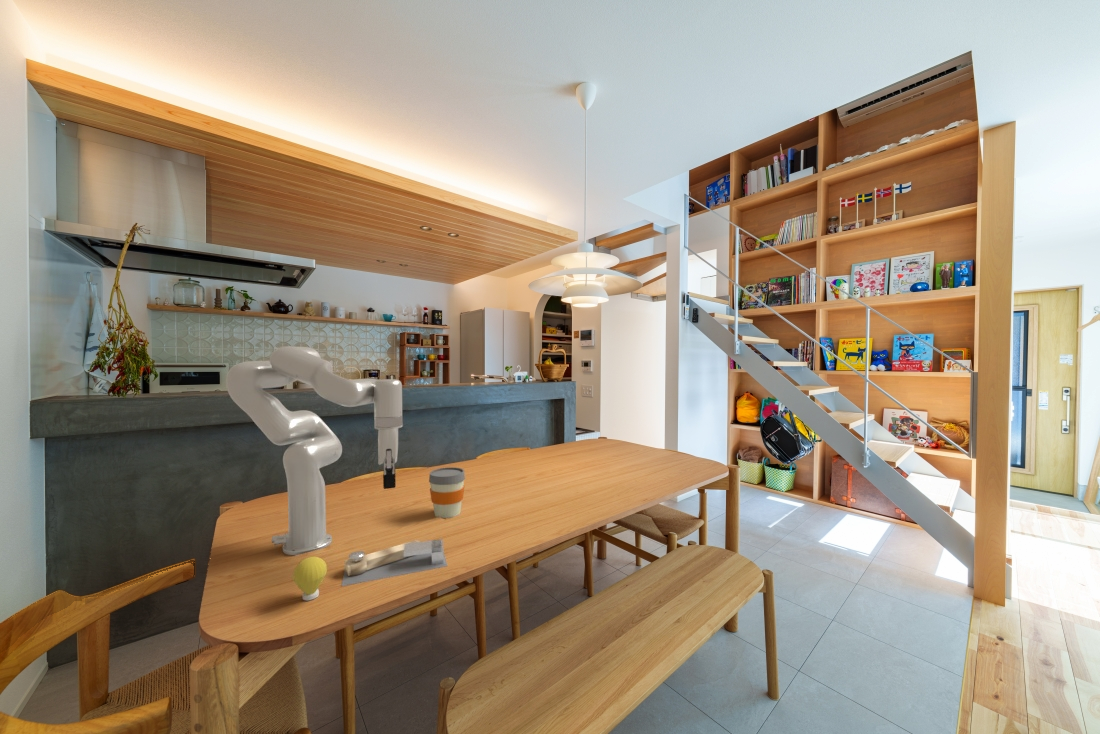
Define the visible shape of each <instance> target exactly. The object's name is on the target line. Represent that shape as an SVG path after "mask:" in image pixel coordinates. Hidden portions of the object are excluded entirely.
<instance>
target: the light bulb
mask: <svg viewBox="0 0 1100 734" xmlns="http://www.w3.org/2000/svg"><path fill="white" fill-rule="evenodd" d="M327 572H328V566H327V563H326V561H325V560H323V559H322V558H321V557H318V556H309V557H307V558H304V559H303V560H301V561H300V562H299V563H298V564H297V565H296V567H295V568H294V570H293V576H292V580H293V582H294V583H295V585H296V586H297V587H298V588H299V590H301V591H302V592H303V593H302V600H303V601H312V600H315V599H316V598H317V597H319V595H320V590H319V588H320V585H321V584H322V582H323V581H324V578H325V577H326V574H327Z"/></svg>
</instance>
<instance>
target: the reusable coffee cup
mask: <svg viewBox="0 0 1100 734" xmlns="http://www.w3.org/2000/svg"><path fill="white" fill-rule="evenodd" d="M428 477H429V479H428V482H429V483H430V487H429V493H430V499H431V503H432V505H433V511H434V516H435V517H436V518H441V519H449V518H450V519H451V518H454V517H457V516H458V515H460V514H461V510H462V509H461V508H462V500H463V499H464V494H465V493H464V491H465V480H466V475H465V470H464V468H461V467H454V466H452V467H451V466H450V467H440V468H436V469H434V470H431V471H430V472H429V476H428Z"/></svg>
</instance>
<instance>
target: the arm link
mask: <svg viewBox="0 0 1100 734" xmlns="http://www.w3.org/2000/svg"><path fill="white" fill-rule="evenodd" d="M415 542H420V541H419V540H418V539H415V540H411V541H408V542H404V543H401V544H398V545H395V546H391V547H387V548H384V549H381V550H377V551H375V552H370V553H368V554H364V557H362V560H361V561H358V562H352V561H351V560H350V559H349V558H348V559H346V560H345V561H344V572H346V574H347V575H348V576H350V575H358V574H361V573H363V572H365V571H366V570H369V569H372V568H375V567H378V566H381V565H385V564H388V563H391V562H394V561H397V560H400V559H403V558H407V557H410V556H406V557H404V545H405V544H407V543H415Z"/></svg>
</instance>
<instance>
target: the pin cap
mask: <svg viewBox="0 0 1100 734" xmlns="http://www.w3.org/2000/svg"><path fill="white" fill-rule="evenodd" d="M364 555H365V551H361V550H359V551H357V550H356V551H353V552H352V553H350V554H349V555H348V559H350V560H351V561H352V562H358V561H361V560H362V557H364Z"/></svg>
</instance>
